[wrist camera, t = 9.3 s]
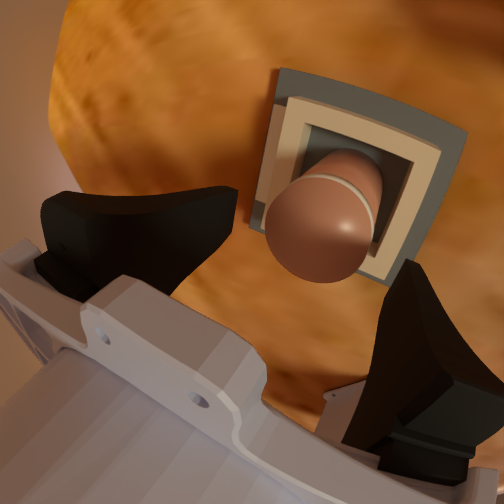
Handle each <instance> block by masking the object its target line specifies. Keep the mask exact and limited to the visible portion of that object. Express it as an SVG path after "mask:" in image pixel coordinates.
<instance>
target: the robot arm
mask: <svg viewBox="0 0 504 504" xmlns="http://www.w3.org/2000/svg"><path fill="white" fill-rule="evenodd" d="M238 191H239V190H236V189H233V188H231V187H228V186H214V187H207V188H200V189H194V190H188V191H182V192H175V193H168V194H160V195H147V196H104V195H93V194H85V193H78V192H71V191H62V192H60V193H58V194H56V195H54V196H52V197H50V198H48V199H46V200H45V201H44V202H43V204H42V207H41V216H40V217H41V224H42V228H43V232H44V237H45V241H46V245H47V249H48V251H46V252H44V253H43V254H42V253H41V251H40V250H39V248H38V247H37V246H35V245H34V244H33V243H32V242H31V241H30V240H29V239H27V238H25V239H23V240H21V241H20V242H18V243H16V244H15V245H13V246H12V247H10V248H8V249H7V250H5V251H4V252H2V253H1V254H0V310H1V312H2V314H3V315H4V316H5V318H6V319H7V320H8V322H9V323H10V324H11V326H12V327H13V328H14V329H15V331H16V332H17V333H18V335H19V336H20V337H21V339H22V340H23V341H24V342H25V344H26V345H27V346H28V348H29V349H30V350H31V351H32V353H33V354H34V355H35V356H36V358H37V359H38V360H39V361H40V362H41V363H42V365H43V366H44V367H43V368H41V369H40V370H39V371H38V372H37V373H36V374H35V375H34V376H33V377H32V378H30V379H29V380H28V381H27V382H26V383H25V384H24V385H23V386H22V387H21V388H20V389H19V390H18V391H17V392H16V393H14V395H12V396H11V397H10V398H9V399H8V400H7V401H6V402H5V403H4V404H3V405H2V406H1V407H0V504H495V503H496V496H497V487H498V477H499V471H498V470H495V469H489V468H483V467H471V468H468V465H469V459H472V458H474V456H475V451H476V446H477V445H479V444H480V443H482V442H483V441H485V440H486V439H488V438H489V437H491V436H492V435H494V434H495V433H496V432H497V431H499V430H500V429H501V428H502V427H503V426H504V383H503V382H502V381H501V380H500V379H499V378H498V377H497V376H496V375H494V374H493V373H492V372H491V371H490V370H489V369H488V367H487V366H486V365H485V364H484V363H483V362H482V361H481V360H480V359H479V358H478V356H477V355H476V354H475V353H474V352H473V350H472V349H471V348H470V347H469V345H468V344H467V343H466V342H465V340H464V339H463V338H462V336H461V335H460V333H459V332H458V330H457V329H456V327H455V326H454V324H453V323H452V322H451V320H450V318H449V317H448V315H447V313H446V312H445V310H444V308H443V306H442V305H441V303H440V301H439V299H438V297H437V295H436V294H435V292H434V290H433V288H432V286H431V284H430V282H429V280H428V278H427V276H426V274H425V272H424V270H423V269H422V267H421V266H420V264H418V263H416V262H414V261H412V260H409V259H407V258H406V259H405V261H404V263H403V265H402V266H401V268H400V270H399V272H398V274H397V276H396V278H395V279H394V281H393V283H392V285H391V287H390V289H389V290H388V292H387V294H386V296H385V297H384V301H383V305H382V308H381V312H380V315H379V320H378V326H377V332H376V339H375V344H374V350H373V356H372V361H371V366H370V370H369V373H368V376H367V379H366V380H364V381H361V382H358V383H355V384H352V385H348V386H345V387H342V388H339V389H335V390H332V391H328V392H325V393H324V394H323V398H324V399H325V400H326V401H327V402H326V405H325V407H324V410H323V412H322V415H321V417H320V420H319V422H318V425H317V427H316V429H315V432H314V433H313V432H311V431H309V430H308V429H306V428H304V427H303V426H301V425H300V424H298V423H297V422H295V421H294V420H292V419H291V418H289V417H288V416H286V415H285V414H283V413H282V412H280V411H279V410H277V409H276V408H274V407H273V406H272V405H270V404H269V403H267V402H266V401H264V400H263V399H262V398H261V394H262V392H263V389H264V387H265V385H266V382H267V370H266V364H265V362H264V361H263V359H262V358H261V357H260V355H259V354H258V352H257V351H256V350H255V348H254V347H253V345H252V344H251V343H249V342H248V341H247V340H245V339H244V338H242V337H241V336H240V335H238V334H237V333H235V332H234V331H233V330H231V329H229V328H227V327H225V326H223V325H222V324H220V323H218V322H216V321H214V320H212V319H210V318H208V317H206V316H204V315H203V314H201V313H199V312H197V311H195V310H193V309H191V308H190V307H188V306H186V305H184V304H182V303H180V302H179V301H177V300H175V299H173V298H171V297H170V295H171V294H172V293H173V291H174V290H175V289H176V288H177V287H178V286H179V284H180V283H181V282H182V281H183V280H184V279H185V278H186V277H187V276H188V275H190V274H191V273H192V272H193V271H194V270H195V269H196V268H197V267H198V266H200V265H201V264H202V263H203V262H204V261H205V260H206V259H207V258H208V257H210V256H211V255H212V254H213V253H214V252H215V251H216V250H217V249H218V248H219V247H220V246H221V245H222V244H223V242H224V241H225V240H226V239H227V237H228V236H229V235H230V234H231V232H232V228H233V221H234V215H235V209H236V203H237V197H238Z"/></svg>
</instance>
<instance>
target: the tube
mask: <svg viewBox="0 0 504 504" xmlns="http://www.w3.org/2000/svg"><path fill="white" fill-rule="evenodd" d="M382 192H383V177H382V173H381V171H380V169H379V167H378V165H377V164H376V162H375V161H374V160H373V159H372V158H371V157H370V156H368V155H367V154H365V153H364V152H362V151H359V150H356V149H351V148H342V149H338V150H335V151H332V152H331V153H329V154H328V155H326V156H325V157H324V158H323V159H321V160H320V161H319V162H318V163H317V164H315V165H314V166H313V167H312V168H310V169H309V170H308V171H307V172H306V173H304V174H303V175H302V176H301V177H299V178H298V179H296V180H294V181H293V182H292V183H290V184H289V185H288V186H287V187H286V188H284V190H283V191H282V192H281V193H280V194H279V195H278V196H277V197H276V198H275V199H274V200H273V202H272V203H271V205H270V206H269V209H268V211H267V214H266V218H265V235H266V239H267V243H268V245H269V248H270V250H271V252H272V253H273V255H274V256H275V258H276V259H277V260H278V262H279V263H280V264H281V265H282V266H283V267H284V268H285V269H287V270H288V271H289V272H291V273H292V274H294V275H296V276H298V277H300V278H302V279H304V280H307V281H311V282H316V283H333V282H337V281H340V280H343V279H345V278H347V277H349V276H350V275H352V274H353V273H355V272H356V271H357V270H358V269H359V267H360V266H361V265H362V263H363V261H364V260H365V258H366V255H367V252H368V250H369V248H370V245H371V242H372V238H373V233H374V226H375V222H376V218H377V214H378V209H379V205H380V201H381V196H382Z"/></svg>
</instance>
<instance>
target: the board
mask: <svg viewBox="0 0 504 504" xmlns="http://www.w3.org/2000/svg"><path fill="white" fill-rule="evenodd" d="M467 135H468V132H466V131H464V130H462V129H460V128H458V127H456V126H454V125H452V124H450V123H448V122H446V121H444V120H442V119H439V118H437V117H435V116H433V115H431V114H428V113H426V112H424V111H421V110H419V109H417V108H414V107H412V106H409V105H407V104H404V103H402V102H399V101H397V100H394V99H391V98H389V97H386V96H383V95H380V94H377V93H374V92H372V91H369V90H366V89H362V88H359V87H356V86H353V85H350V84H346V83H343V82H339V81H336V80H332V79H329V78H325V77H321V76H317V75H313V74H309V73H305V72H301V71H296V70H292V69H287V68H281V67H280V72H279V77H278V82H277V87H276V92H275V97H274V102H273V107H272V111H271V116H270V122H269V127H268V132H267V137H266V142H265V147H264V152H263V157H262V162H261V167H260V172H259V177H258V182H257V187H256V193H255V198H254V203H253V208H252V213H251V218H250V224H249V228H251V229H253V230H256V231H258V232H261V233H263V234H265V218H266V214H267V211H268V209H269V206H270V205H271V203H272V202H273V200H274V199H275V198H276V197H277V196H278V195H279V194H280V193H281V192H282V191H283V190H284V188H286V187H287V186H288V185H289V184H290V183H292V182H293V181H294V180H296V179H298V178H299V177H301V176H302V175H303V174H304V173H306V172H307V171H308V170H309V169H310V168H312V167H313V166H314V165H315V164H317V163H318V162H319V161H320V160H321V159H323V158H324V157H325V156H326V155H328V154H329V153H331V152H332V151H335V150H338V149H342V148H351V149H356V150H359V151H362V152H364V153H365V154H367V155H368V156H370V157H371V158H372V159H373V160H374V161H375V162H376V164H377V165H378V167H379V169H380V171H381V173H382V177H383V192H382V196H381V201H380V205H379V209H378V214H377V218H376V222H375V226H374V233H373V238H372V242H371V245H370V248H369V250H368V252H367V255H366V258H365V260H364V261H363V263H362V265H361V266H360V267H359V269H358V270H357V271H356V273H358V274H361V275H363V276H365V277H368V278H370V279H372V280H374V281H377V282H379V283H381V284H384V285H386V286H388V287H391V285H392V283H393V281H394V279H395V278H396V276H397V274H398V272H399V270H400V268H401V266H402V265H403V263H404V261H405V259H406V258H407V259H409V260H412V261H413V260H414V259H415V257H416V255H417V253H418V251H419V249H420V247H421V245H422V243H423V241H424V239H425V237H426V235H427V233H428V231H429V229H430V227H431V225H432V223H433V220H434V218H435V216H436V214H437V212H438V209H439V207H440V205H441V203H442V200H443V198H444V196H445V193H446V191H447V189H448V186H449V184H450V181H451V179H452V176H453V174H454V171H455V169H456V166H457V164H458V161H459V158H460V155H461V153H462V150H463V147H464V144H465V141H466V138H467Z"/></svg>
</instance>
